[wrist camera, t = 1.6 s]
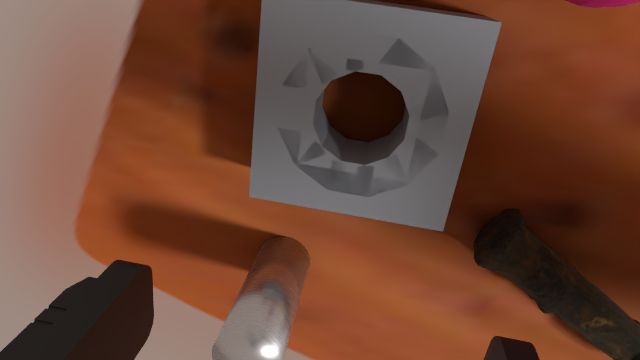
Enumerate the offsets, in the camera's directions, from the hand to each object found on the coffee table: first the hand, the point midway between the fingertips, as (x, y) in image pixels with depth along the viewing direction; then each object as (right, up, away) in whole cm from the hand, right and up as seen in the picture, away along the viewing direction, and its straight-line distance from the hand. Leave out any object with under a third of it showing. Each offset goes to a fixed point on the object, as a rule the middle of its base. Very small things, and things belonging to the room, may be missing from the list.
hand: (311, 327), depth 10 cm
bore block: (+3, +8, +18) cm, 20 cm away
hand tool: (+19, -4, +22) cm, 29 cm away
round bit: (-3, -3, +24) cm, 24 cm away
